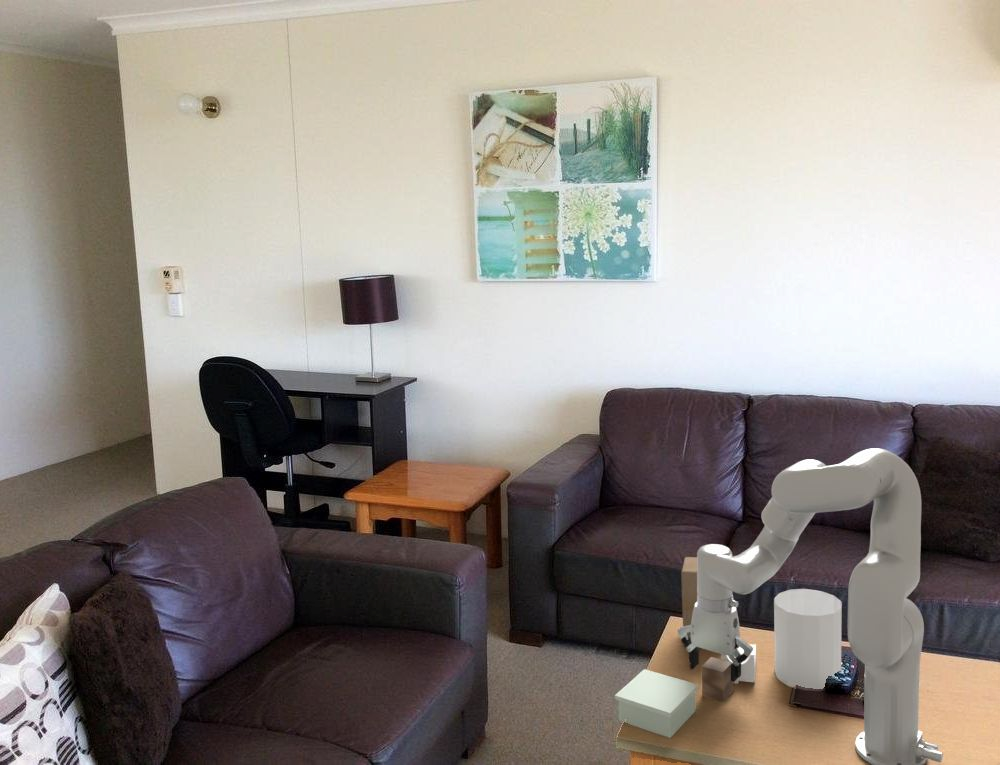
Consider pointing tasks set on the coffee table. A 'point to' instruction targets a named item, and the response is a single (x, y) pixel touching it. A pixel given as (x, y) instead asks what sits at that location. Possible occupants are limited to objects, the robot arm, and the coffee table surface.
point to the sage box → (657, 702)
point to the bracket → (745, 665)
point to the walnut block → (716, 679)
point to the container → (807, 637)
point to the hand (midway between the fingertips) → (714, 672)
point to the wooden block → (689, 589)
